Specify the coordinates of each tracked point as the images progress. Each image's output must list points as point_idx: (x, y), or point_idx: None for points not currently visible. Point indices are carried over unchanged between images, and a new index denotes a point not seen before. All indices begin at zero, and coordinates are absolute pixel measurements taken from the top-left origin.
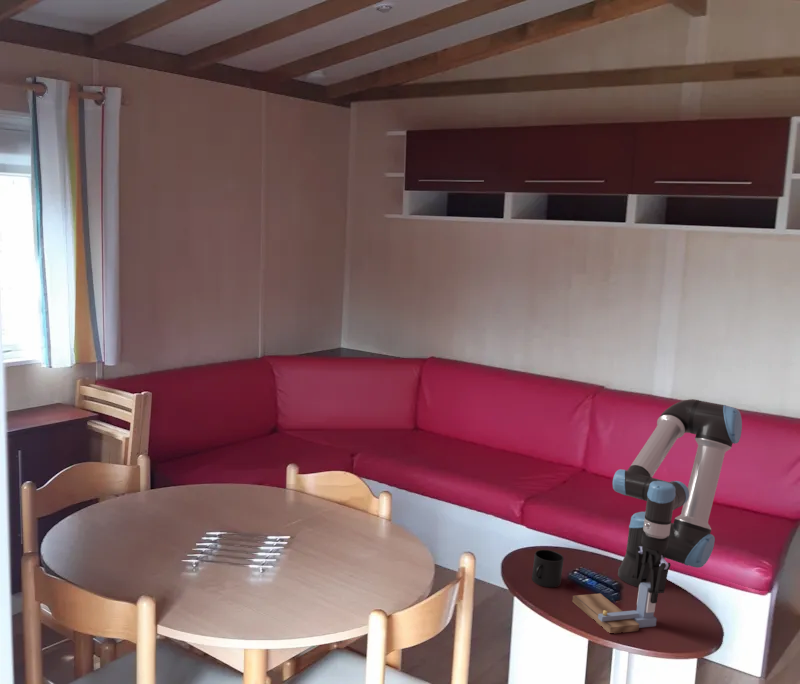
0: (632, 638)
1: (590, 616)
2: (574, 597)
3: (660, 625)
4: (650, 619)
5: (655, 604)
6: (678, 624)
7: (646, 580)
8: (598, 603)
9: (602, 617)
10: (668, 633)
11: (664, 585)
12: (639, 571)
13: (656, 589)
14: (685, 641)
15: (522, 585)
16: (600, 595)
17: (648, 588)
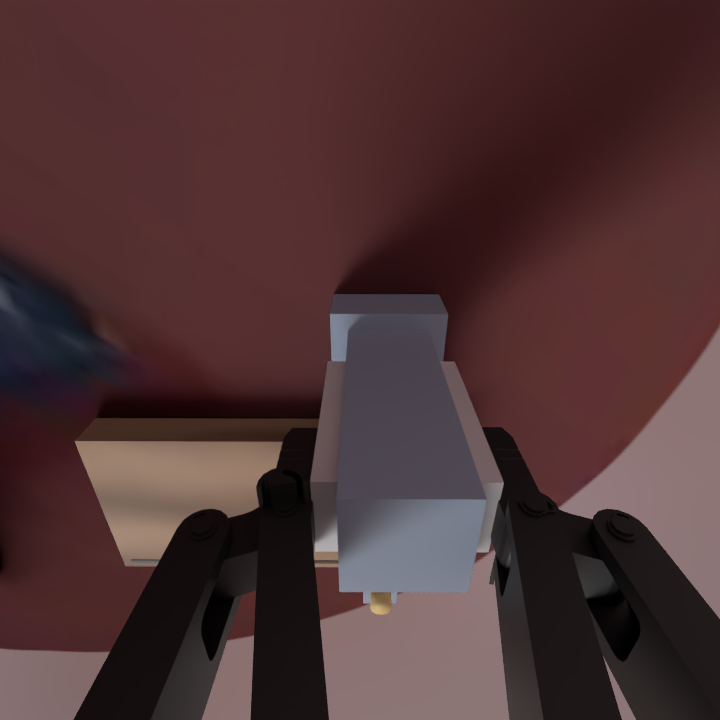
0: None
1: None
2: (140, 563)
3: (439, 254)
4: (441, 358)
5: (468, 396)
6: (466, 92)
7: (311, 532)
8: (208, 507)
9: (395, 600)
10: (537, 272)
11: (711, 626)
12: (209, 659)
13: (610, 619)
14: (659, 227)
15: (7, 627)
16: (104, 453)
17: (469, 579)
